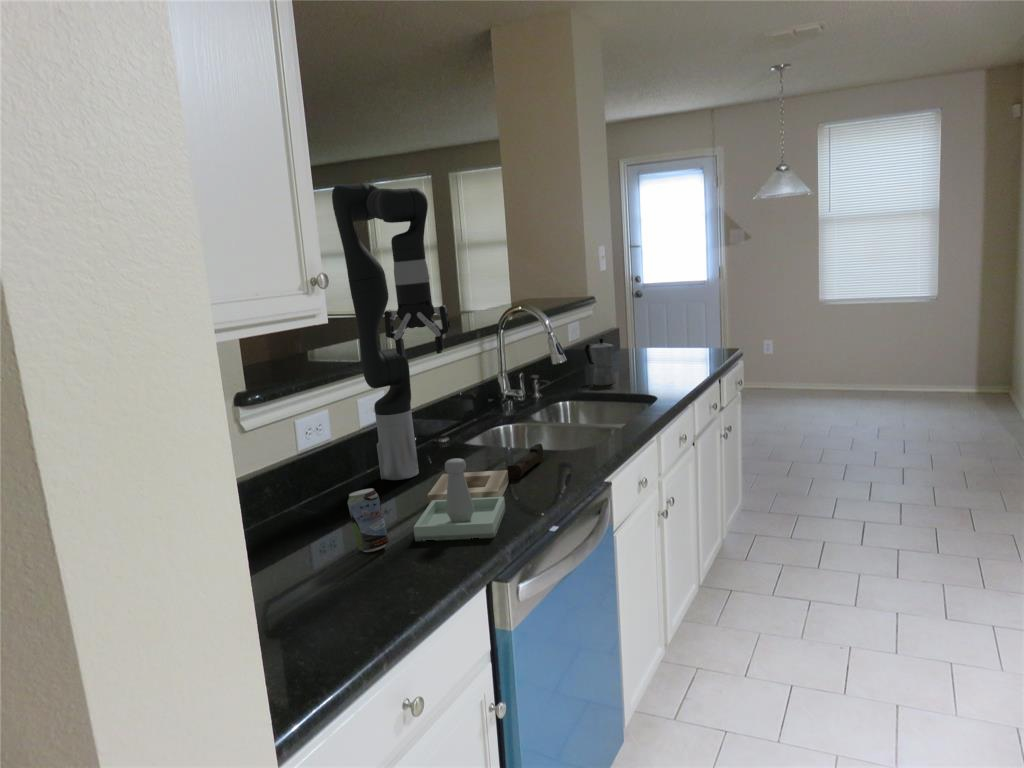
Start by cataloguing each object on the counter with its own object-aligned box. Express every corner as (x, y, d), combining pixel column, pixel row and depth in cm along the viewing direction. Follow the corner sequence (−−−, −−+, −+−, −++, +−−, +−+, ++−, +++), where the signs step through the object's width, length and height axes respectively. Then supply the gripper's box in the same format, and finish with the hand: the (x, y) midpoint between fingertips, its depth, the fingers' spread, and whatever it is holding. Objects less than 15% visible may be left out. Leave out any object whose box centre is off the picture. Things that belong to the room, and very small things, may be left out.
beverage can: (375, 557, 146) (367, 497, 144) (347, 552, 150) (338, 494, 148) (396, 545, 151) (389, 487, 149) (369, 541, 155) (361, 484, 153)
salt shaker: (453, 527, 155) (446, 465, 153) (443, 519, 160) (436, 460, 158) (479, 520, 157) (473, 459, 155) (468, 513, 162) (462, 454, 160)
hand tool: (521, 481, 186) (519, 462, 185) (506, 480, 188) (505, 462, 187) (552, 459, 202) (551, 442, 202) (539, 458, 204) (537, 441, 203)
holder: (429, 507, 172) (427, 494, 171) (444, 485, 187) (443, 473, 187) (499, 504, 170) (497, 491, 169) (508, 481, 185) (507, 470, 185)
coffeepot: (625, 382, 301) (621, 336, 298) (610, 386, 294) (606, 340, 291) (595, 380, 312) (591, 336, 309) (579, 384, 305) (576, 339, 302)
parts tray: (415, 541, 152) (413, 527, 152) (433, 513, 168) (432, 500, 167) (494, 537, 150) (492, 523, 149) (505, 509, 165) (504, 496, 165)
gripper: (375, 285, 165) (385, 359, 168) (439, 279, 163) (448, 354, 166) (385, 283, 173) (394, 354, 175) (447, 277, 171) (455, 349, 173)
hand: (420, 354), depth 171 cm, fingers open, 8 cm apart
